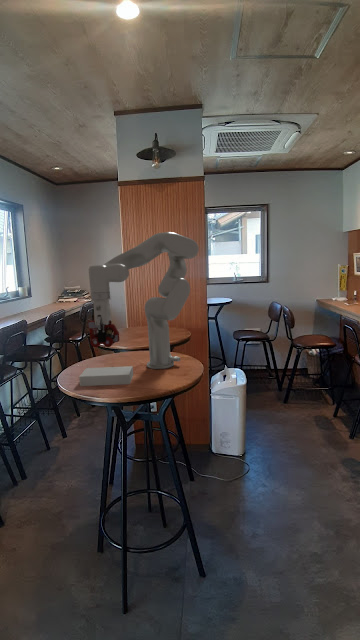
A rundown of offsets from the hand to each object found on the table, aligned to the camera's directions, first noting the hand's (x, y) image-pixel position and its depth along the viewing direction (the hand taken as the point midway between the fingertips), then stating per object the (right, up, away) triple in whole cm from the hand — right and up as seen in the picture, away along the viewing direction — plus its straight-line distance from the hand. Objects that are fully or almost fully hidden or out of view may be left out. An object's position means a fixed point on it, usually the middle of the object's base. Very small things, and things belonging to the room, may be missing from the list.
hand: (104, 339), depth 151 cm
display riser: (+1, -17, +3) cm, 18 cm away
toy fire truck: (0, -3, +1) cm, 3 cm away
